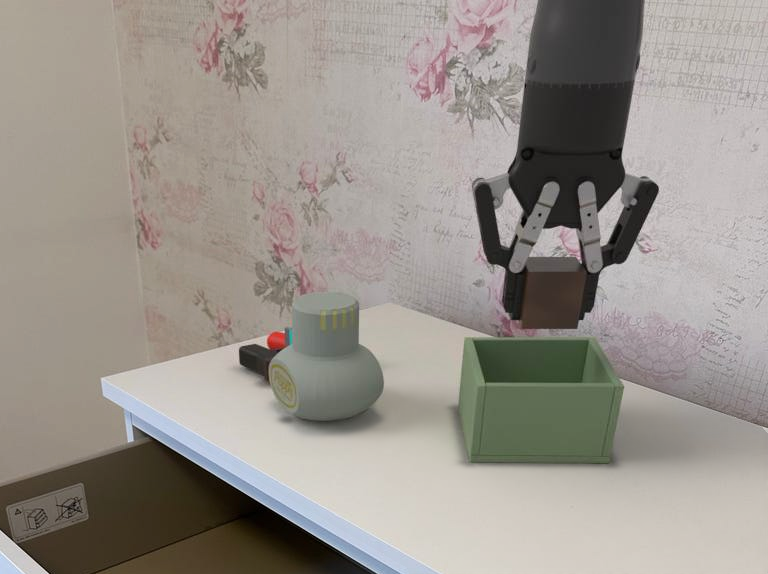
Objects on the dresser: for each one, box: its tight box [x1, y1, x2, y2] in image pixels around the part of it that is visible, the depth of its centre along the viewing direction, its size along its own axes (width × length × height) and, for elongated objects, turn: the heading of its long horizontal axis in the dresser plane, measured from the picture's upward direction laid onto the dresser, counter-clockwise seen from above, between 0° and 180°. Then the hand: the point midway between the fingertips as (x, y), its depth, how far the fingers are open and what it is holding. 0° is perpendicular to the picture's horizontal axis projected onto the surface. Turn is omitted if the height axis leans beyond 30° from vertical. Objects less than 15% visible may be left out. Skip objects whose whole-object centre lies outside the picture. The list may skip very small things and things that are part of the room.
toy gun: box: [238, 326, 292, 383], centre depth 96 cm, size 10×12×5 cm
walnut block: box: [517, 256, 587, 330], centre depth 75 cm, size 4×4×4 cm
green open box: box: [457, 336, 625, 464], centre depth 81 cm, size 11×11×7 cm
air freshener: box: [269, 291, 385, 422], centre depth 85 cm, size 11×8×10 cm
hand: (545, 316), depth 76 cm, fingers closed on walnut block, 4 cm apart
